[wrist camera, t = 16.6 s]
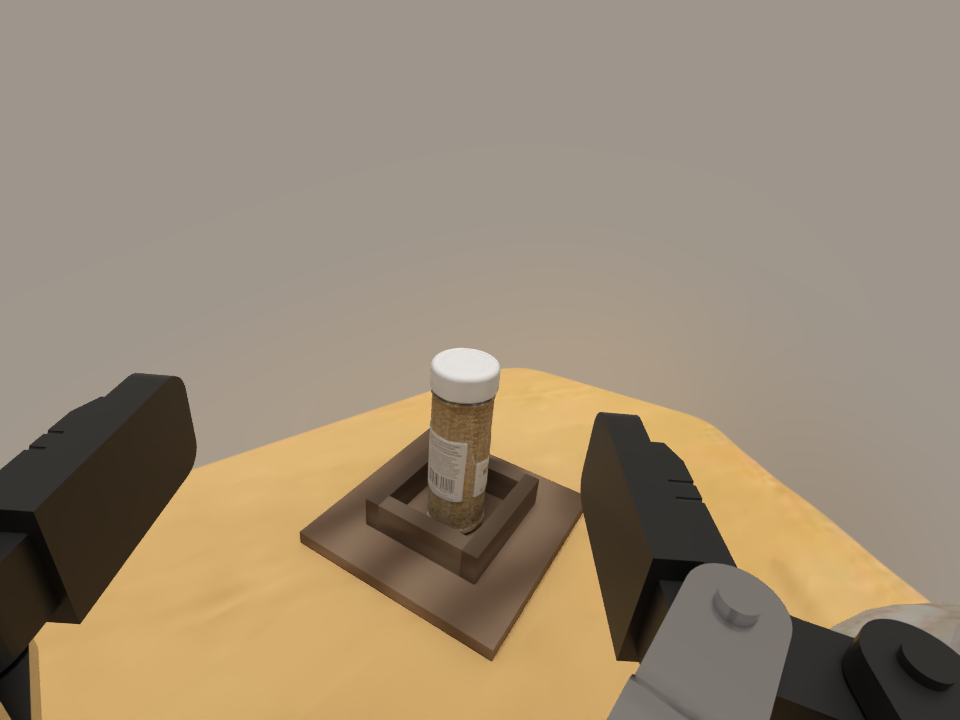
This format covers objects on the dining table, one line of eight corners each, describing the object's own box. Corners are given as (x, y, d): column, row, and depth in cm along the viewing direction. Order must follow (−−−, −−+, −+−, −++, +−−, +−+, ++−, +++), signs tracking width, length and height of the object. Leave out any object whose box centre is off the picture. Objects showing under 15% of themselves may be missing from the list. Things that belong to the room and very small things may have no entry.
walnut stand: (300, 542, 39) (296, 505, 37) (429, 436, 51) (431, 406, 50) (491, 661, 32) (497, 623, 30) (586, 506, 44) (593, 473, 43)
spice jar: (495, 523, 41) (515, 369, 34) (443, 546, 38) (454, 385, 32) (463, 487, 44) (476, 340, 37) (414, 506, 41) (418, 352, 35)
